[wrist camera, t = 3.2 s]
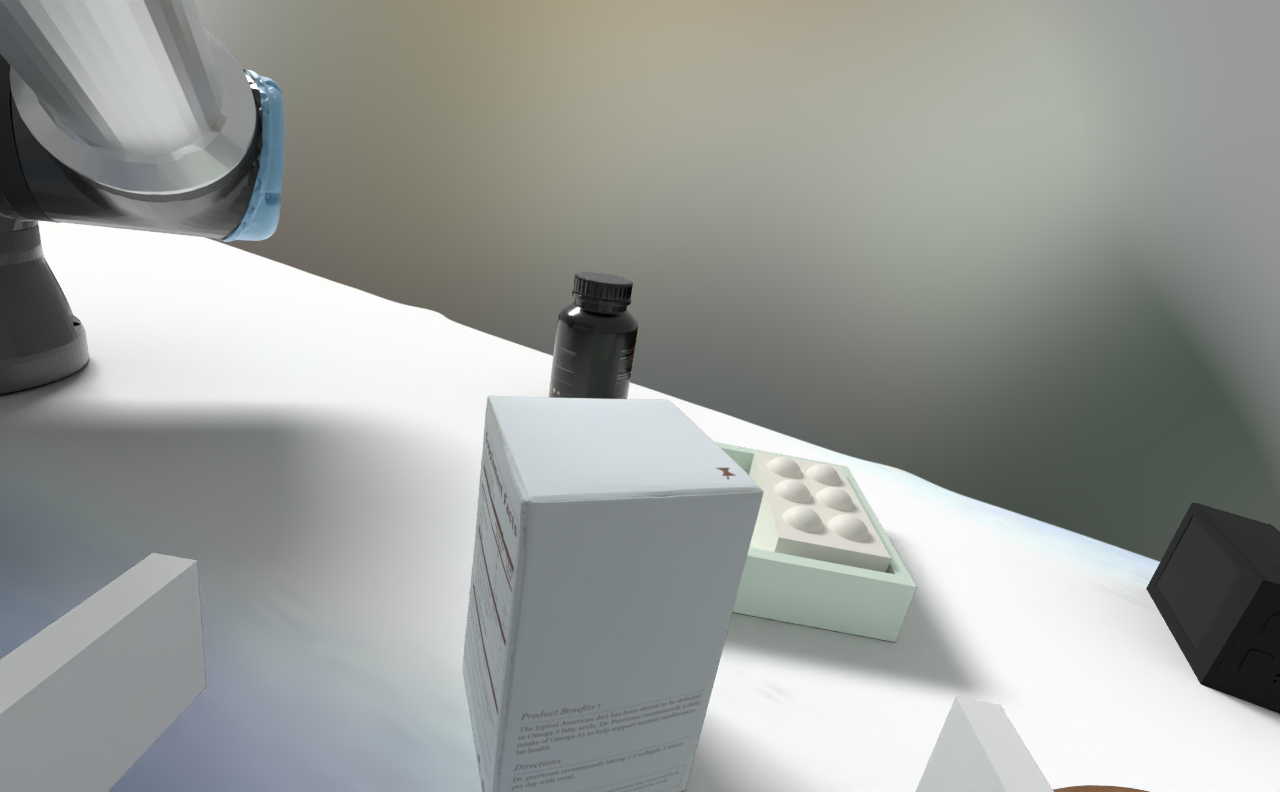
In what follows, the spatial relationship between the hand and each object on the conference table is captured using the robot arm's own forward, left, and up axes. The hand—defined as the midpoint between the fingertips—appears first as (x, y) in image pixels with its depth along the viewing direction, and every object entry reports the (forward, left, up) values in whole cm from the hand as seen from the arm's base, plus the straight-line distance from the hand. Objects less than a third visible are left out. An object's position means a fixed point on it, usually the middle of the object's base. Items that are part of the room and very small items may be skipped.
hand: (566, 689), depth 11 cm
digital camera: (+37, +24, -12) cm, 46 cm away
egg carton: (+12, +26, -12) cm, 31 cm away
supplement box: (0, +10, -12) cm, 16 cm away
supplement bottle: (-4, +43, -12) cm, 45 cm away
